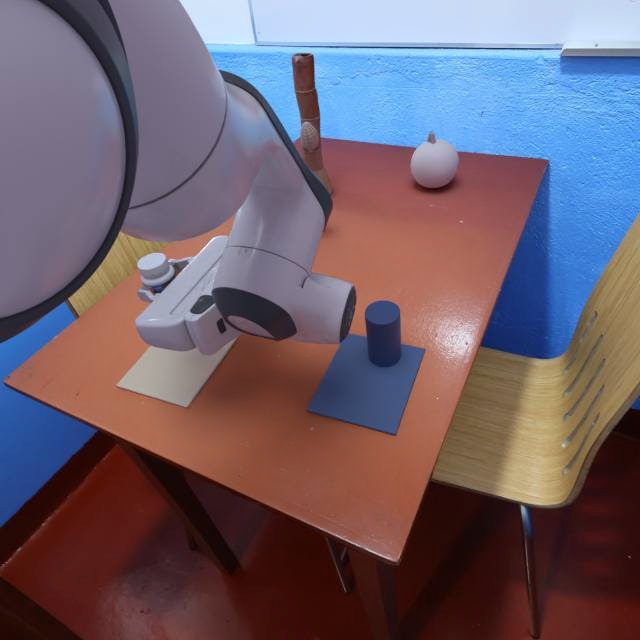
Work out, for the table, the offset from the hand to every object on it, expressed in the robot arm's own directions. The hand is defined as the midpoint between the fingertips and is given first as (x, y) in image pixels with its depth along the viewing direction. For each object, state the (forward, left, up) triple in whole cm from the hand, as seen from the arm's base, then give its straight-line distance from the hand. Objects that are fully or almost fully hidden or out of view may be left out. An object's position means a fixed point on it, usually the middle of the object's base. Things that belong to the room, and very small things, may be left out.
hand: (155, 279), depth 67 cm
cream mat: (+1, +2, -17) cm, 17 cm away
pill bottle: (0, -1, -5) cm, 5 cm away
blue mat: (+4, -29, -17) cm, 34 cm away
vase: (+56, +1, -17) cm, 58 cm away
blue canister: (+9, -30, -16) cm, 36 cm away
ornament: (+63, -25, -17) cm, 70 cm away
